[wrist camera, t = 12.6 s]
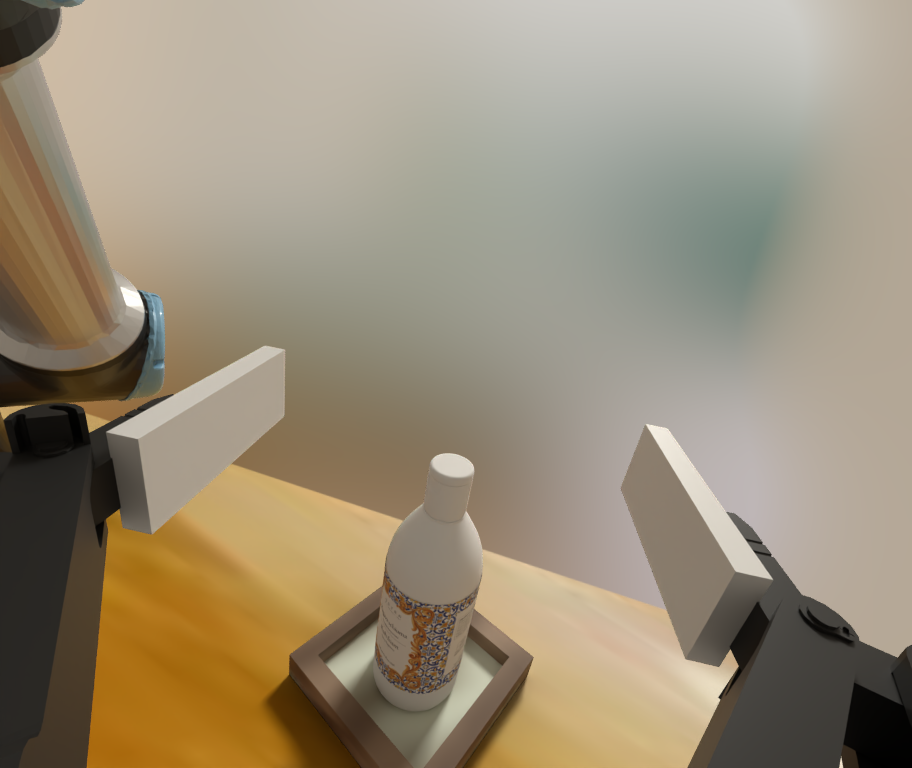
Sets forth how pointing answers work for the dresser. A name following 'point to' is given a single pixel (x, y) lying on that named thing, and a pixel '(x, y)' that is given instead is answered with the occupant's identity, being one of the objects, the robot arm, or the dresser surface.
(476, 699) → the tray
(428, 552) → the bath foam
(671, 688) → the dresser surface
